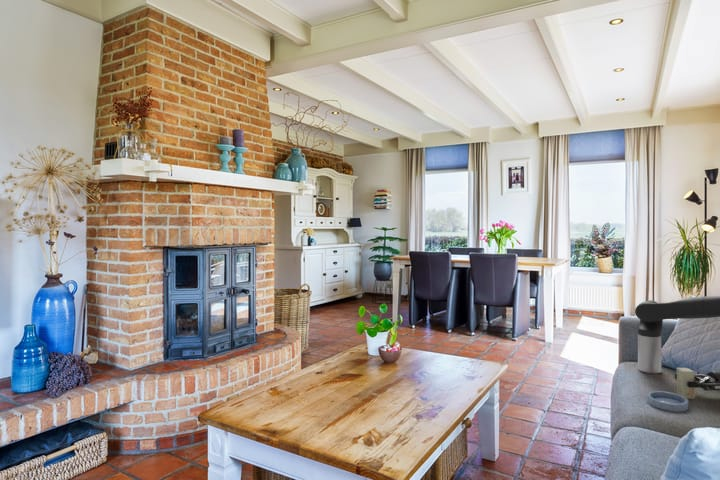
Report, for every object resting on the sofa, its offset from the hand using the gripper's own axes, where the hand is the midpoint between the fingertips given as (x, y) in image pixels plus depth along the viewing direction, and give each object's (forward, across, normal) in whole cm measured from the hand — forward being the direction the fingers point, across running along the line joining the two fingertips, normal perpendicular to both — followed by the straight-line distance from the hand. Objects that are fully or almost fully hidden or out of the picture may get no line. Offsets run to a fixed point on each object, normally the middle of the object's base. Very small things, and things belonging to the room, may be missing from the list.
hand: (681, 380), depth 176 cm
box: (-2, 0, +7) cm, 7 cm away
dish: (+9, +8, +6) cm, 14 cm away
